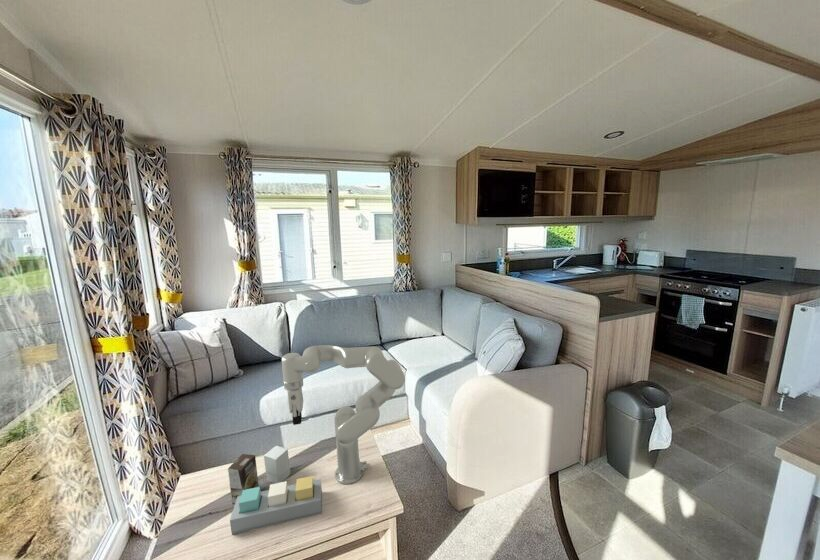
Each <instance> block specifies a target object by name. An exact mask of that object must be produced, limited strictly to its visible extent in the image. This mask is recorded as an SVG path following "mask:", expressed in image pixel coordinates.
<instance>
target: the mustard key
mask: <svg viewBox="0 0 820 560" xmlns="http://www.w3.org/2000/svg"><path fill="white" fill-rule="evenodd" d="M313 480H314V476H313V475H311V476H306V477H301V478H296V483H295V484H296V491H295V492H296V501H300V500H304V499H309V498H314V485H313Z"/></svg>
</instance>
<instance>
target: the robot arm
mask: <svg viewBox="0 0 820 560" xmlns="http://www.w3.org/2000/svg"><path fill="white" fill-rule="evenodd" d="M321 362H331V363H335V364H338V366H341V367H342V368H344V369H355V368H366V369H367V371H368V373H370V374H371V375H372V376H373V377H374V378H376V379H377V381H378V382H377V383H376V384H375V385H374V386H372V387H371V388H370V389H368V390H367V391H365V392H364V393H363V394H362V395H360V396H359V397H357V399H356V401H355V410H354V408H352V407H351V406H348V405H345V406H341V407H340V408H339V409H338V410H337V411H336V413H335V414H334V433H335V442H336V457H337V468H336V469H335V473H334V477H335V480H336V481H337V482H338V483H340V484H343V485H352V484H353V483H356V482H358V481H359V480H361V478H362V476H363V474H364V470H368V469H371V465H370V462H369V463H367V460H363V461H361V460H360V451H359V449H360V448H359V438H361V437H362V436H363V435H364V434H367V432H369V430H371V429H372V428H374V427H375V425H376V424H377V423H378V421H379V419H380V415H381V413H380V408H381V406H383V405H384V404H385V403H386V402H387V401H389V400H390V399H391V398H392V397H393V396H394V394H395V392H396V390H399V389H401V388H402V387H403V386H405V382H406V376H405V374H404V371H403V370H402V367H401V365H400V364H399V362H397V360H395V359H389V360H388V359H387V358H386V357H385V354H384V352H383V351H382V349H381V348H379V347H378V346H360V347H359V346H357V347H354V346H353V347H344V346H343V347H342V346H338V345H331V344H330V345H329V344H323V345H322V344H321V345H319V344H318V345H312V346H309V347H307V348H305V349H304V350H303V353H302V355H301V354H300V353H298V352H289V353H286V354H284V355H283V356H282V357H281V368H282V378H283V387H284V390H286V391H287V400H288V409H289V414H292V425H293V426H296V425H301V424H302V412H303V408H304V396H303V395H304V394H303V387H304V376H303V373H305V374H307V373H308V374H309V373H311V374H312V373H315V372H317V371H318V370H319V369H320V366H321Z"/></svg>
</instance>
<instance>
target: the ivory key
mask: <svg viewBox="0 0 820 560" xmlns="http://www.w3.org/2000/svg"><path fill="white" fill-rule="evenodd" d="M287 486H288V481H282V482H280V483H276V484H275V483H272V484H270V485H269V489H268V490H269V493H268V504H269V507H273V506H277V505H282V504H286V503H287V500H288V487H287Z"/></svg>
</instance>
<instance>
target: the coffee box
mask: <svg viewBox="0 0 820 560" xmlns="http://www.w3.org/2000/svg"><path fill="white" fill-rule="evenodd" d="M227 472H228V479H229V480H228V481H229V489H230V497H231V503H232V504H235V503H236V500H237V497H238V496H241V495H242V491H243V490H246V489H251V488H256V487H260V484H259V477H258V469H257V459H256V455H254V454H249V453H248V454H247V453H246V454H245V453H242V454H241V455H240V456H239V457H238V458H237V459H236V460H235V461H234V462H233V463H232V464H231V465H230V466H229V467H228V469H227Z"/></svg>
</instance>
